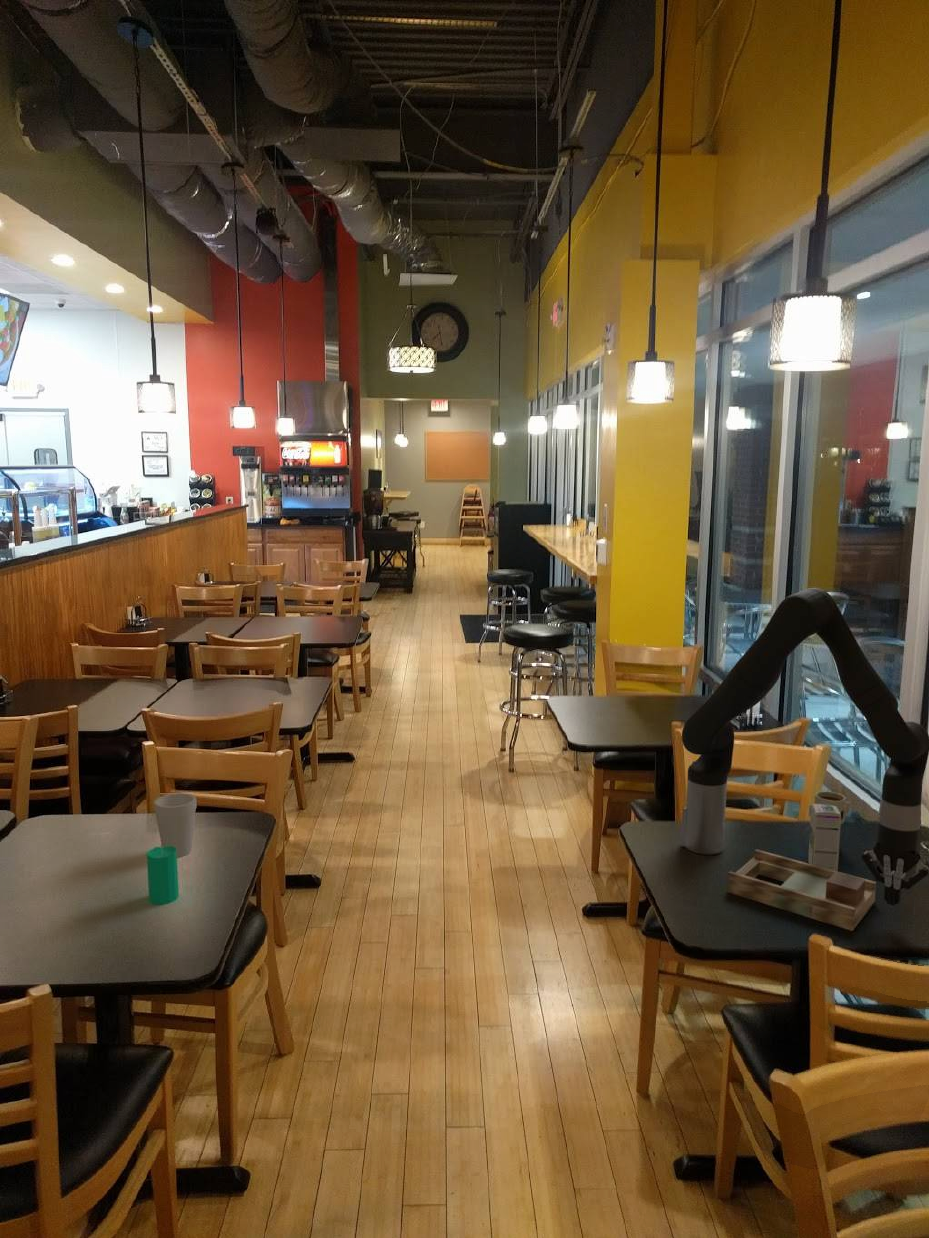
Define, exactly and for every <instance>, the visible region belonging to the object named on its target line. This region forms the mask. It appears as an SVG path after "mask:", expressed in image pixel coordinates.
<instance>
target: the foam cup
mask: <svg viewBox="0 0 929 1238" xmlns="http://www.w3.org/2000/svg"><path fill="white" fill-rule="evenodd" d="M153 808H154V809H153V810H154V811H153V812H154V814H155V816H156V817H155V818H156V823H157V828H158V832H159V838H160V842H161V843H160V845H161V844H162V847H167V846H173V847H176V850H177V859H178V858H183V857H185V856H188V855H190V854H191V852H192V848H193V839H194V838H193V837H194V830H195V829H194V827H195V821H196V820H195V818H196V809H197V798H196V796H195V795H194V794H191V793H187V792H186V793H185V792H184V793H183V792H175V793H169V794H165V795H162V796H160V797H158V798H155V800H154V801H153Z"/></svg>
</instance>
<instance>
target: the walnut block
mask: <svg viewBox="0 0 929 1238" xmlns="http://www.w3.org/2000/svg"><path fill="white" fill-rule="evenodd" d="M838 872H839V871H838ZM838 872H835V873H834V874H833V875H832V876H831V877H830V878H829V879H828V881H827V883H826V896H825V897H826V898H829V899H833V900H836V901H840V902H843V903H846V904H850V905H853V906H856V905H857V904H858V903H859V901H860V900H861V899H862V898H863V896H864V891H865V880H864V879H865V878H863V879H860V878H861V877H860V878H857V877H858V876H856V877H853V876H854V875H852V876H849V875H850V874H849V875H846V874H847V873H845V874H842V873H843V872H841V873H838Z"/></svg>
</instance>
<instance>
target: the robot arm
mask: <svg viewBox="0 0 929 1238" xmlns="http://www.w3.org/2000/svg"><path fill="white" fill-rule="evenodd" d="M815 634H816V635H818V637H819V638H820V639H821V640H822V641H823V643H824V644H825V645H826V647H827V648H828V649H829V652H830V654H831V655H832V657H833V660H834V663H835V665H836V669H837V672H838V677H839V680H840V682H841V684H842V687H843V689H844V691H845V693H846V694H847V696H848V697H849V699H851V701H852V703H853V704H854V705H855V706H856V708H857V709H858V710H859V712H860V713H861V714H862V716H863V717H864V719H866V722H867V725H868V727H869V729H870V731H871V733H872V735H873V738H874V739H875V741H876V743H877V745H878V747H879V748H880V749H881V751H882V752H883V754H884V755H886V756H887V757H888V758H889V764H888V765H889V766H888V768H887V770H886V771H885V773H884V775H883V778H882V788H881V799H880V804H879V807H878V808H879V810H878V818H877V819H878V820H877V822H878V823H877V830H876V831H877V832H876V833H877V834H876V842H875V844H874V846H873V848H872V849H871V850H865V851H864V852H863V853H862V854H861V859H862V860H863V862H864V864H865V865H866V867H867V868H868V870H869V872H870V873H871V875H872V876H873V878H874V879H875V880H876V882H880V883H882V884H883V885H884V893H883V894H884V896H883V899H884V901H886V904H887V905H889V906H893V907H896V905H899V903H900V902H901V900H902V891H903V889H905V890H909V889H911V888H912V887H914V886H915V885H916V884H918V883H919V882H920V881H922V880H924V878H926V877H927V876H928V875H929V865H926V864H925V863H924V862H923V861H922V860H921V855H920V852H919V845H920V834H921V833H920V832H921V825H922V807H921V806H922V795H923V794H922V793H923V780H924V775H925V772H926V768H927V763H928V758H929V733H928V731H927V729H926V728H925V727H924V726H923V725H921V724H920V723H918V722H916V721H905V719H904V718H903V717H902V715H901V714H900V711H899V702H898V700H897V698H896V696H895V695H894V694H893V692H892V691H891V689H890V688H889V687H888V685H887V684H886V683H885V681H884V680H883V679H882V678H881V676H880V675H879V674H878V672H877V671H876V670H875V668H874V667H873V666H872V664H871V663H870V661H869V660H868V658H867V657H866V655H865V653H864V651H863V649H862V648H861V646H860V644H859V643H858V641H857V639H856V637H855V635H854V634H853V632H852V630H851V628H850V627H849V625H848V623H847V621H846V619H845V617H844V616H843V614H842V612H841V609H840V608H839V606H838V605H837V603H836V601H835V600H834V598H833V597H832V595H830V593H829V592H828V591H826V590H824V589H822V588H820V587H809V588H806V589H802V590H801V591H798V592H795V593H792V594H790V595H788V596H787V597H785V598H783V600H782V601H781V602H780V603H779V605H778V606H777V607H776V609H775V611H774V613H773V615H772V616H771V618H770V619H769V621H768V623H767V624H766V626H765V628H764V629H763V631H762V632H761V634H760V635H759V636H758V638H757V639H756V640H755V641H754V642H753V643H751V645H750V646H749V648H747V650H746V651H745V652H744V653H743V655H741V657H740V658H739V660H738V661H736V663H735V664H734V666H733V667H732V668H731V670H730V671H729V672H728V673H727V675H726V677H725V678H724V679H723V681H722V682H721V683H720V684H719V685H718V686H717V688H716V689H715V690H714V692H713V693H712V694H711V695H710V697H709V698H708V699H707V700H706V701H705V702H703V704H702V705H701V706H700V707H699V708H698V709H697V710H696V711H695V712H694V713H692V715H691V716H689V718H688V719H686V721H685V723H684V725H683V728H682V732H681V740H682V741H681V742H682V745H683V746H684V748H685V749H686V750H687V752H689V753H690V754H693V755H699V757H698V758H697V759H696V760H695V761H693V762H692V763H691V764H690V765H689V767H688V768H687V780H686V781H687V784H686V801H685V802H686V803H685V806H684V807H682V811H681V812H682V813H681V815H682V817H681V833H680V835H681V836H680V837H681V838H680V846H681V847H683V848H686V849H687V850H688V851H691V853H692V852H693V853H695V854H700V855H717V854H719V853H722V852H723V850H724V843H725V842H724V841H725V824H726V807H727V787H728V776H729V773H730V772H731V769H732V764H733V756H734V755H733V754H734V747H735V730H734V726H733V723H732V721H733V720H734V719H735V718H737V717H739V716H740V715H742V714H744V713H745V712H748V710H750V709H751V708H753V707H755V706H756V705H757V704H758V703H760V702H761V701H762V700H763V699H764V698H765V697H766V696H767V695H768V693H770V691H771V690H772V689H773V688H774V686H775V685H776V684H777V682H778V680H779V679H780V677H781V675H782V670H783V669H784V668H783V667H784V664H785V661H786V659H788V657H789V655H790V654H792V653H793V651H794V650H796V648H797V647H798V646H799V645H800V644H801V643H802V642H804V641H805V640H806V639H807V638H810V636H811V637H812V636H813V635H815ZM877 860H878V861H879V863H880V865H881V866H882V868H883V869H882V868H881V866H880V865H879V863H878V861H877ZM915 866H916V868H915V873H914V874H913V875H912V876H910V877H908V879H905V876H906V873H908V872H910V871H911V870H912V869H913V868H914V867H915Z"/></svg>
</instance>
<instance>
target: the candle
mask: <svg viewBox="0 0 929 1238" xmlns="http://www.w3.org/2000/svg"><path fill="white" fill-rule="evenodd" d="M146 860H147V861H146V864H147V881H148V882H147V883H148V899H149V900H148V901H149V903H151V904H154V905H166V904H171V903H173V902H174V901H176V900H178V898H179V878H178V877H179V874H178V872H179V871H178V858H177V850H176V847H173V846H167V847H162V844H161V843H160V846H155V847H153V848H151V849H150V850H147V851H146Z"/></svg>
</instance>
